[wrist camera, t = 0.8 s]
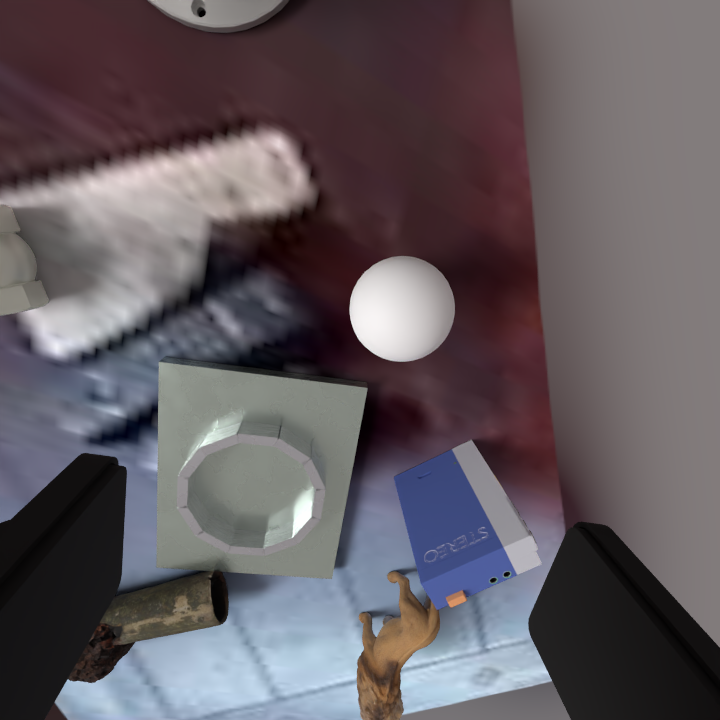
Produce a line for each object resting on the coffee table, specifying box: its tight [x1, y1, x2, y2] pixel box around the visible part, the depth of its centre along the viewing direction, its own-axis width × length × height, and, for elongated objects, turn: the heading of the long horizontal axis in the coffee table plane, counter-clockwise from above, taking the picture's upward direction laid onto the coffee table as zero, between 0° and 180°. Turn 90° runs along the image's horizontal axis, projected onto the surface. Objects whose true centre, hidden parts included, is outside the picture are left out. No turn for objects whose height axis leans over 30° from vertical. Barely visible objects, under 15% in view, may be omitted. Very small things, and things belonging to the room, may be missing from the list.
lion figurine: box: [357, 571, 440, 720], centre depth 39 cm, size 15×5×9 cm, turn 158°
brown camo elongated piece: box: [68, 571, 229, 683], centre depth 38 cm, size 18×7×6 cm, turn 101°
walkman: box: [394, 440, 542, 610], centre depth 32 cm, size 8×3×12 cm, turn 117°
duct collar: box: [157, 357, 368, 579], centre depth 35 cm, size 20×16×3 cm
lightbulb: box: [350, 256, 455, 362], centre depth 27 cm, size 6×6×11 cm
